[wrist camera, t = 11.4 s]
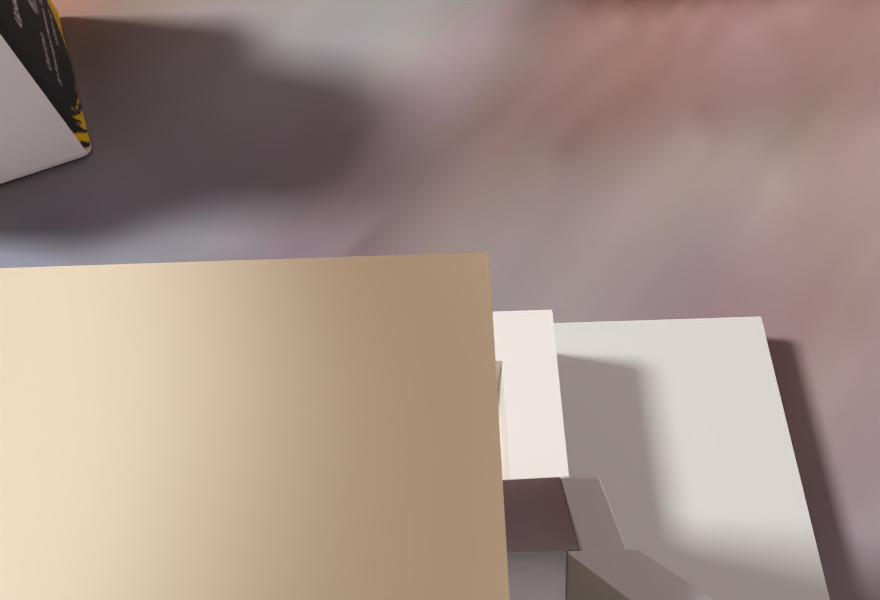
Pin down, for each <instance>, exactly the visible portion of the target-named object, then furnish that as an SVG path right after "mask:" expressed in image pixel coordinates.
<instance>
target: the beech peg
mask: <svg viewBox="0 0 880 600" xmlns="http://www.w3.org/2000/svg"><path fill="white" fill-rule="evenodd" d="M0 600H510V597H509V580H508V563H507V546H506V529H505V512H504V496H503V479H502V462H501V445H500V428H499V411H498V394H497V378H496V361H495V344H494V327H493V310H492V293H491V276H490V259H489V252H480V253H450V254H420V255H389V256H359V257H329V258H299V259H268V260H238V261H208V262H177V263H147V264H117V265H87V266H56V267H26V268H0Z"/></svg>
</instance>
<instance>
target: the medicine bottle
mask: <svg viewBox="0 0 880 600" xmlns="http://www.w3.org/2000/svg"><path fill="white" fill-rule="evenodd" d="M90 151H91V142H90V138H89V134H88V130H87V126H86V122H85V118H84V114H83V110H82V106H81V102H80V98H79V94H78V90H77V86H76V82H75V78H74V74H73V70H72V66H71V62H70V58H69V54H68V50H67V46H66V42H65V38H64V34H63V30H62V26H61V22H60V18H59V15H58V11H57V10H56V8H55V7H54V5H53V3H52V2H51V0H0V184H2V183H5V182H8V181H11V180H14V179H17V178H20V177H23V176H26V175H29V174H32V173H35V172H38V171H41V170H44V169H47V168H50V167H53V166H57V165H60V164H63V163H66V162H69V161H72V160H75V159H78V158H81V157H84V156H86V155H87V154H88V153H89V152H90Z"/></svg>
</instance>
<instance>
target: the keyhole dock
mask: <svg viewBox="0 0 880 600" xmlns="http://www.w3.org/2000/svg"><path fill="white" fill-rule="evenodd" d="M493 327H494V344H495V361H496V378H497V394H498V411H499V428H500V445H501V462H502V479H503V480H512V479H531V478H550V477H565V476H580V475H596V476H598V477H599V478H600V480H601V483H602V485H603V488H604V491H605V493H606V496H607V499H608V501H609V504H610V507H611V509H612V512H613V514H614V517H615V520H616V522H617V525H618V528H619V530H620V533H621V536H622V538H623V541H624V544H625V546H626V549H627V550H639V551H641V552H642V553H644V554H645V555H647V556H648V557H650V558H651V559H653V560H654V561H656V562H657V563H659V564H661V565H662V566H664V567H665V568H667V569H668V570H670V571H671V572H673V573H674V574H676V575H677V576H679V577H680V578H682V579H683V580H685V581H686V582H688V583H689V584H691V585H692V586H694V587H695V588H697V589H698V590H700V591H701V592H703V593H704V594H706V595H707V596H709V597H710V598H712V599H713V600H830V598H829V594H828V590H827V586H826V582H825V578H824V573H823V569H822V565H821V561H820V557H819V553H818V549H817V545H816V541H815V536H814V532H813V528H812V524H811V520H810V516H809V512H808V508H807V504H806V499H805V495H804V491H803V487H802V483H801V479H800V475H799V471H798V467H797V463H796V458H795V454H794V450H793V446H792V442H791V438H790V434H789V430H788V426H787V421H786V417H785V413H784V409H783V405H782V401H781V397H780V393H779V389H778V384H777V380H776V376H775V372H774V368H773V364H772V360H771V356H770V352H769V347H768V343H767V339H766V335H765V331H764V327H763V323H762V319H761V317H733V318H702V319H671V320H640V321H609V322H579V323H553V314H552V310H531V311H501V312H493Z"/></svg>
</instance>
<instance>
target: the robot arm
mask: <svg viewBox="0 0 880 600" xmlns="http://www.w3.org/2000/svg"><path fill="white" fill-rule="evenodd" d="M503 496H504V512H505V529H506V546H507V563H508V580H509V597H510V600H713V599H712V598H710V597H709V596H707V595H706V594H704V593H703V592H701V591H700V590H698V589H697V588H695V587H694V586H692V585H691V584H689V583H688V582H686V581H685V580H683V579H682V578H680V577H679V576H677V575H676V574H674V573H673V572H671V571H670V570H668V569H667V568H665V567H664V566H662V565H661V564H659V563H657V562H656V561H654V560H653V559H651V558H650V557H648V556H647V555H645V554H644V553H642V552H641V551H639V550H627V549H626V546H625V544H624V541H623V538H622V536H621V533H620V530H619V528H618V525H617V522H616V520H615V517H614V514H613V512H612V509H611V507H610V504H609V501H608V499H607V496H606V493H605V491H604V488H603V485H602V483H601V480H600V478H599V477H598V476H596V475H580V476H565V477H550V478H531V479H512V480H503Z"/></svg>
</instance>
